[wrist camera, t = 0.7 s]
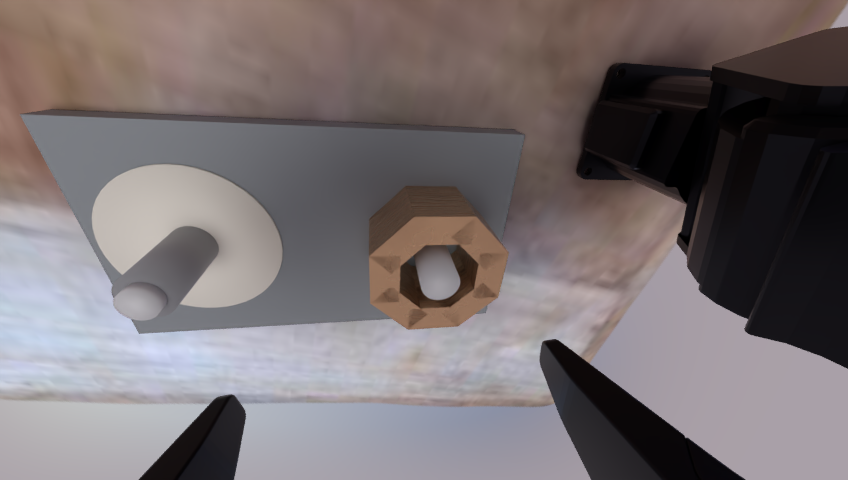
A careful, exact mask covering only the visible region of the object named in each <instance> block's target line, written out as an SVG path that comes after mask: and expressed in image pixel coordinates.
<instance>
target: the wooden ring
mask: <svg viewBox="0 0 848 480" xmlns="http://www.w3.org/2000/svg"><path fill="white" fill-rule="evenodd" d="M425 245H457V247H456V251H454V252H453V253H452V254H451V258H452V260H453V263H454V265H455V268H456V270H457V272H458V275H459V277H460V286H459V288H458V290H457V291H456V292H455V293H454V294H453V295H452V296H450V297H448V298H446V299H442V300H434V299H430V298H428V297H426V296H425V295H424V294H423V292H422V290H421V286H420V281H419V277H418V272H417V268H416V266H411V265H410V264H408V263H407V262H406V261H407V260H409V259H410V258H411V257H412V256H413V255H415V254H416V253H417V252H418V251H419V250H421V249H422V248H423V247H424V246H425ZM508 254H509V252H508V251H507V250H506V248H505V247H504V246H503V244H502V243H501V241H500V240H499V239H498V237H497V236H496V234H495V233H494V232H493V230H492V229H491V227H490V226H489V225H488V223H487V222H486V221H485V219H484V218H483V217H482V216H481V214H480V213H479V212H478V211H477V210H476V209H475V208H474V207H473V205H472V204H471V203H470V202H469V201H468V200H467V199H466V198H465V196H464V195H463V194H462V193H461V192H460V191H459V190H458V188H457V187H456V186H405V187H404V188H403V189H402V190H400V191H399V192H398V193H397V194H396V195H395V196H394V197H393V198H392V199H391V200H389V201H388V202H387V203H386V204H385V205H384V206H383V207H382V208H381V209H380V210H379V211H377V212H376V213H375V214H374V215H373V216H372V217H371V218H370V219H369V276H370V304H372V305H373V306H375V307H376V308H377V309H379V310H380V311H382V312H383V313H385V314H386V315H388V316H389V317H391V318H392V319H393V320H395V321H396V322H398V323H399V324H401V325H402V326H404V327H405V328H406V329H424V328H439V327H454V326H459V325H460V324H462V323H463V322H465V321H466V320H467V319H469V318H470V317H471V316H473V315H474V314H476V313H477V312H478V311H480V310H481V309H482V308H484V307H485V306H487V305H488V304H489V303H491V302H492V301H493V300H495V299H496V298H498V296H499V292H500V287H501V283H502V279H503V275H504V271H505V266H506V262H507V258H508Z"/></svg>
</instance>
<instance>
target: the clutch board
mask: <svg viewBox="0 0 848 480" xmlns="http://www.w3.org/2000/svg"><path fill="white" fill-rule="evenodd" d="M20 115H21V117H22V119H23V121H24V123H25V125H26V126H27V128H28V130H29V132H30V134H31V136H32V137H33V139H34V141H35V143H36V145H37V147H38V148H39V150H40V152H41V154H42V156H43V158H44V160H45V161H46V163H47V165H48V167H49V169H50V171H51V172H52V174H53V176H54V178H55V180H56V182H57V183H58V185H59V187H60V189H61V191H62V193H63V194H64V196H65V198H66V200H67V202H68V204H69V206H70V207H71V209H72V211H73V213H74V215H75V217H76V218H77V220H78V222H79V224H80V226H81V228H82V229H83V231H84V233H85V235H86V237H87V239H88V240H89V242H90V244H91V246H92V248H93V250H94V252H95V253H96V255H97V257H98V259H99V261H100V263H101V264H102V266H103V268H104V270H105V272H106V274H107V275H108V277H109V279H110V281H111V283H112V289H111V290H112V296H113V298H114V299H113V305H114V307H115V309H116V310H117V311H118V312H119V313H120V314H122V315H123V316H125V317H127V318H130V319H131V320H132V321H133V323H134V325H135V327H136V329H137V331H138V332H139V334H141V333H158V332H175V331H192V330H209V329H226V328H243V327H260V326H277V325H294V324H311V323H328V322H345V321H362V320H379V319H392V318H391V317H389V316H388V315H386V314H385V313H383V312H382V311H380V310H379V309H377V308H376V307H375V306H373V305H372V304H370V276H369V219H370V218H371V217H372V216H373V215H374V214H375V213H376V212H377V211H379V210H380V209H381V208H382V207H383V206H384V205H385V204H386V203H387V202H388V201H389V200H391V199H392V198H393V197H394V196H395V195H396V194H397V193H398V192H399V191H400V190H402V189H403V188H404V187H405V186H456V187H457V188H458V190H459V191H460V192H461V193H462V194H463V195H464V196H465V198H466V199H467V200H468V201H469V202H470V203H471V204H472V205H473V207H474V208H475V209H476V210H477V211H478V212H479V213H480V214H481V216H482V217H483V218H484V219H485V221H486V222H487V223H488V225H489V226H490V227H491V229H492V230H493V232H494V233H495V234H496V236H497V237H498V239H499V240H500V241H501V242H502V237H503V233H504V228H505V224H506V219H507V215H508V210H509V206H510V201H511V197H512V192H513V188H514V183H515V179H516V174H517V169H518V165H519V160H520V156H521V151H522V147H523V142H524V138H525V135H524V134H522V133H520V132H518V131H516V130H513V129H490V128H467V127H444V126H421V125H398V124H376V123H353V122H330V121H307V120H284V119H261V118H238V117H215V116H192V115H169V114H146V113H123V112H100V111H77V110H54V109H50V110H44V111H37V112H31V113H24V114H20ZM456 247H457V245H425V246H424V247H423V248H422V249H421V250H419V251H418V252H417V253H416V254H415V255H413V256H412V257H411V258H410V259H409V260H407V261H406V262H407V263H408V264H410V265H411V266H416V268H417V272H418V277H419V281H420V286H421V290H422V292H423V294H424V295H425V296H426V297H428V298H430V299H434V300H442V299H446V298H448V297H450V296H452V295H453V294H454V293H455V292H456V291H457V290H458V288H459V286H460V277H459V275H458V272H457V270H456V268H455V265H454V263H453V260H452V258H451V254H452V253H453V252H454V251H456ZM486 310H487V306H485V307H484V308H482V309H481V310H480V311H478V312H477V313H476V314H481V313H486Z"/></svg>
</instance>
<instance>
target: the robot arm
mask: <svg viewBox="0 0 848 480" xmlns="http://www.w3.org/2000/svg"><path fill="white" fill-rule="evenodd" d="M619 70H620V71H621V72H620V75H619V77H617V72H618V71H619ZM587 168H588V171H587V172H586V173H584V171H585V170H586V169H587ZM577 174H578V176H579V177H581V178H583V179H597V180H634V181H636V182H638V183H640V184H642V185H645V186H647V187H649V188H651V189H653V190H656V191H658V192H660V193H662V194H664V195H667V196H669V197H671V198H673V199H675V200H677V201H680V202H682V203H684V204H686V205H687V207H686V211H685V216H684V221H683V226H682V230H681V232H680V233H679V234H678V238H677V244H678V245H679V247H680V248H681V249H682V251H683V252H684V253H685V254H686V255H687V267H688V269H689V270H690V272H691V273H692V275H693V276H694V278H695V279H696V281H697V282H698V283H699V284H700V285H699V290H700V292H701V293H703V294H704V295H706V296H707V297H708V298H709V299H711V300H712V301H713V302H715V303H716V304H718V305H720V306H722V307H724V308H726V309H728V310H730V311H732V312H733V313H735V314H737V315H739V316H742V317H744V318H747V319H748V321H747V324H746V327H745V328H744V329H745V331H746V332H747V333H748V334H750V335H754V336H758V337H762V338H767V339H771V340H774V341H779V342H783V343H787V344H789V345H793V346H795V347H798V348H800V349H803V350H806V351H809V352H811V353H814V354H817V355H820V356H822V357H824V358H826V359H829V360H831V361H833V362H835V363H837V364H839V365H841V366H843V367H846V368H847V369H848V27H840V28H832V29H826V30H822V31H818V32H815V33H812V34H809V35H806V36H803V37H799V38H796V39H793V40H790V41H787V42H784V43H780V44H777V45H774V46H771V47H768V48H765V49H762V50H758V51H755V52H752V53H749V54H746V55H743V56H739V57H736V58H733V59H730V60H727V61H724V62H721V63H717V64H715V65H713V67H712V71H710V70H699V69H688V68H676V67H665V66H653V65H641V64H630V63H616V64H615V65H613V66H612V67H611V68H610V70H609V72H608V75H607V78H606V81H605V84H604V88H603V91H602V94H601V97H600V100H599V103H598V105H597V108H596V111H595V114H594V117H593V121H592V124H591V127H590V130H589V133H588V136H587V139H586V143H585V146H584V150H583V153H582V157H581V160H580V163H579V166H578V169H577ZM540 365H541V368H542V371H543V373H544V376H545V379H546V381H547V384H548V386H549V389H550V392H551V394H552V397H553V400H554V402H555V405H556V407H557V410H558V413H559V415H560V417H561V419H562V421H563V424H564V426H565V428H566V430H567V432H568V434H569V436H570V438H571V440H572V442H573V444H574V446H575V448H576V450H577V452H578V454H579V456H580V458H581V460H582V462H583V464H584V466H585V468H586V470H587V472H588V474H589V476H590V478H591V480H745V479H744V478H742V477H741V476H739V475H738V474H736V473H735V472H733V471H732V470H731V469H729V468H728V467H727V466H725V465H724V464H722V463H721V462H720V461H718V460H717V459H716V458H714V457H713V456H712V455H710V454H709V453H707V452H706V451H705V450H703V449H702V448H701V447H699V446H698V445H697V444H695V443H694V442H693V441H691V440H690V439H689V438H685V436H684V435H683V434H682V433H681V432H679V431H678V430H676V429H675V428H674V427H673V426H671V425H670V424H669V423H667V422H666V421H665V420H663V419H662V418H661V417H659V416H658V415H657V414H655V413H654V412H653V411H651V410H650V409H649V408H648V407H646V406H645V405H644V404H642V403H641V402H640V401H638V400H637V399H635V398H634V397H633V396H632V395H630V394H629V393H628V392H626V391H625V390H624V389H622V388H621V387H620V386H618V385H617V384H616V383H614V382H613V381H611V380H610V379H609V378H608V377H606V376H605V375H604V374H602V373H601V372H600V371H598V370H597V369H596V368H594V367H593V366H592V365H590V364H589V363H588V362H587V361H585V360H584V359H583V358H581V357H580V356H579V355H577V354H576V353H575V352H573V351H572V350H571V349H569V348H568V347H567V346H565V345H564V344H563V343H561V342H560V341H559V340H556V339H552V340H546V341H543V342H542V346H541V352H540ZM245 419H246V413H245V410H244V408H243V407H242V405H241V404H240V402H239V401H238V399H237V398H236V397H235V396H234V395H232V394H231V395H224V396H220V397H217V398H216V399H214V400H213V401H212V402H211V403H210V404H209V406H208V407H207V408H206V409H205V410H204V411H203V412H202V413H201V414H200V415H199V416H198V417H197V418H196V419H195V420H194V422H192V424H191V425H190V426H189V427H188V428H187V429H186V430H185V431H184V432H183V433H182V434H181V435H180V436H179V437H178V438H177V439H176V440H175V442H174V443H173V444H172V445H171V446H170V447H169V448H168V449H167V450H166V451H165V452H164V453H163V454H162V455H161V457H159V459H158V460H157V461H156V462H155V463H154V464H153V465H152V466H151V467H150V468H149V469H148V470H147V471H146V472H145V473H144V474H143V475H142V477H141V478H140V479H139V480H234V476H235V472H236V467H237V462H238V457H239V451H240V445H241V440H242V435H243V430H244V424H245Z"/></svg>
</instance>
